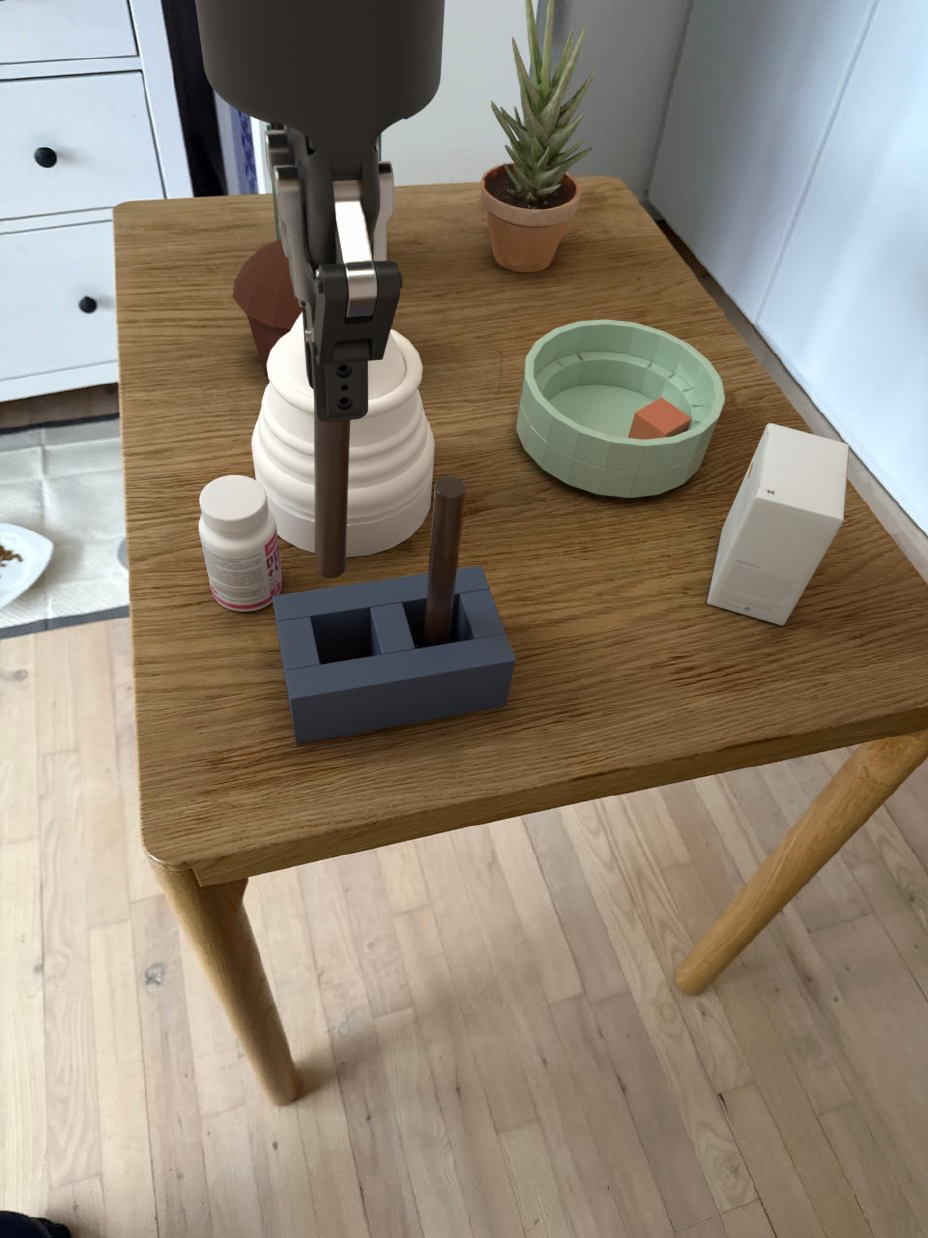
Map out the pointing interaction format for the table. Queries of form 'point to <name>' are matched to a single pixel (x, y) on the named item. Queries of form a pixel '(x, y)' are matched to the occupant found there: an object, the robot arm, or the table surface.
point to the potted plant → (536, 158)
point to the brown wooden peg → (443, 559)
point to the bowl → (615, 406)
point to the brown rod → (331, 495)
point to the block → (659, 421)
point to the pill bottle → (240, 543)
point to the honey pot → (378, 452)
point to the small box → (780, 523)
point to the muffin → (267, 297)
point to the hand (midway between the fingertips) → (337, 398)
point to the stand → (389, 655)
